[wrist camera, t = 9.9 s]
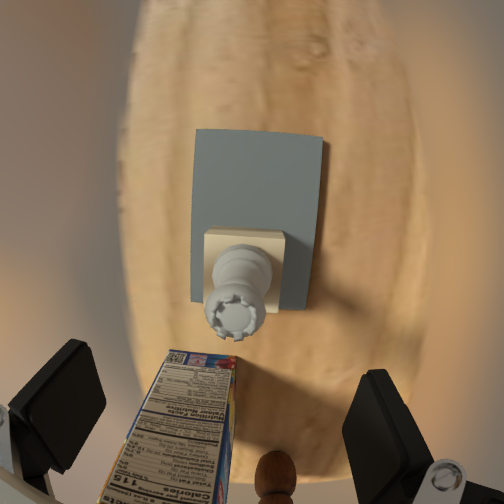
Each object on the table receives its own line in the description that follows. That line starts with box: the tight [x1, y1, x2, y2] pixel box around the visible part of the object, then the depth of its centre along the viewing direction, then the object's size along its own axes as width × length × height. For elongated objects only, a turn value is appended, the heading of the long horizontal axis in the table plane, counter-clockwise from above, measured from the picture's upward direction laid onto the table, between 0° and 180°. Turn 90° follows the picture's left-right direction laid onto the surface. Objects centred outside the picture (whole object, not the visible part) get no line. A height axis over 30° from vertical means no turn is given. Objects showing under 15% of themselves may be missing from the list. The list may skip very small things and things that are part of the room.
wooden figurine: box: [255, 452, 297, 504], centre depth 27 cm, size 7×6×15 cm
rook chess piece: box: [205, 244, 273, 342], centre depth 18 cm, size 4×4×8 cm
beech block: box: [203, 225, 285, 313], centre depth 24 cm, size 6×6×4 cm
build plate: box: [191, 129, 323, 310], centre depth 25 cm, size 16×11×1 cm
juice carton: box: [96, 349, 237, 504], centre depth 19 cm, size 12×8×24 cm, turn 177°
